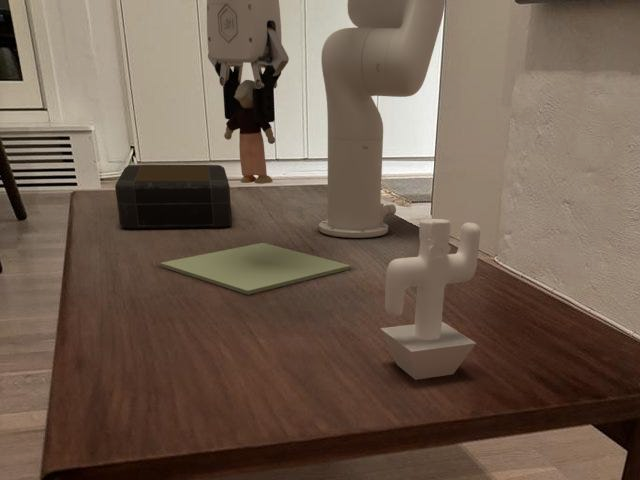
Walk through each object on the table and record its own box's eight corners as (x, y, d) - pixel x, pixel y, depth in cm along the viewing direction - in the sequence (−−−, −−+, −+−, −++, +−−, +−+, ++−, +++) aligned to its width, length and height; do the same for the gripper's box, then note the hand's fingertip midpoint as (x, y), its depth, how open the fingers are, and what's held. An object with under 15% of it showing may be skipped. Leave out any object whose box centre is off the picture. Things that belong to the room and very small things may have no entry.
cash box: (126, 204, 151) (121, 164, 147) (226, 203, 155) (224, 164, 151) (116, 230, 130) (109, 183, 126) (232, 228, 134) (229, 183, 130)
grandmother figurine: (282, 180, 105) (278, 79, 99) (275, 184, 102) (270, 80, 96) (231, 178, 106) (224, 78, 100) (222, 182, 103) (214, 79, 97)
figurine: (369, 362, 78) (374, 214, 70) (447, 352, 81) (460, 209, 73) (398, 388, 72) (407, 229, 64) (482, 376, 75) (499, 223, 68)
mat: (262, 246, 122) (262, 242, 122) (350, 269, 111) (350, 265, 111) (160, 266, 109) (160, 262, 109) (248, 295, 98) (247, 290, 98)
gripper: (175, -42, 94) (188, 117, 103) (264, -50, 84) (270, 127, 93) (222, -36, 98) (231, 115, 108) (312, -43, 89) (313, 124, 98)
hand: (249, 119), depth 100 cm, fingers closed on grandmother figurine, 5 cm apart
